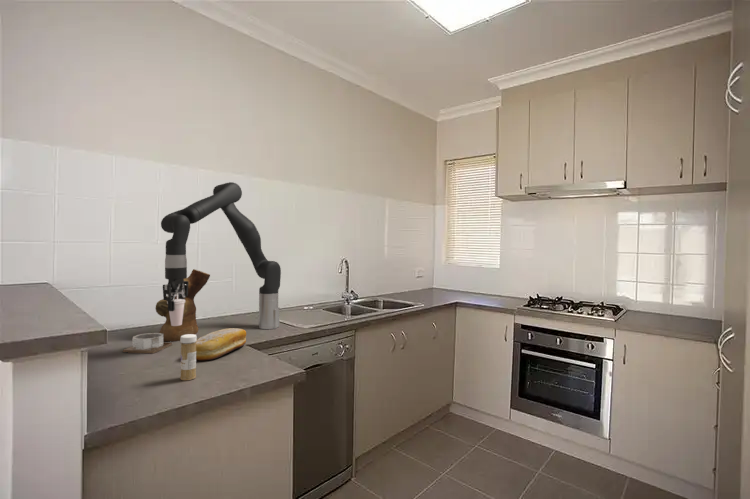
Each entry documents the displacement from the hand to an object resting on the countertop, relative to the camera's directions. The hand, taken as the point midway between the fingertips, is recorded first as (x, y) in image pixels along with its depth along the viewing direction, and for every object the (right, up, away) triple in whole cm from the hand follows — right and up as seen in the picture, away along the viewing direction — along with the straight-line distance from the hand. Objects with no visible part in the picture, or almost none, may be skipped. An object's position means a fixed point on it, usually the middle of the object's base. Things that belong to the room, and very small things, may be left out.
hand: (176, 309), depth 150 cm
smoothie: (0, -6, 0) cm, 6 cm away
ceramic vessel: (-8, -16, +22) cm, 28 cm away
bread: (+17, -17, -1) cm, 24 cm away
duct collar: (-12, -16, +2) cm, 20 cm away
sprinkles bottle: (+19, -17, -30) cm, 39 cm away
